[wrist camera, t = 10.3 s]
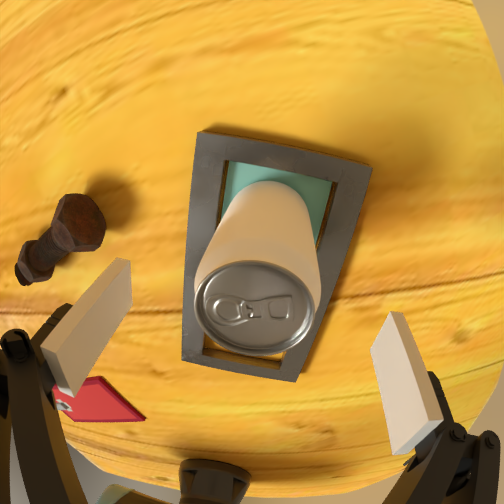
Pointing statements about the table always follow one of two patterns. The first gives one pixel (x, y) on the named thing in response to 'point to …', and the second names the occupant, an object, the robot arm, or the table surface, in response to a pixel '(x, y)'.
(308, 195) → the pad
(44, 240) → the bolt
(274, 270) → the can
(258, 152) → the grey flat frame
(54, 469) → the robot arm
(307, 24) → the table surface
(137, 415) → the red board with handle
